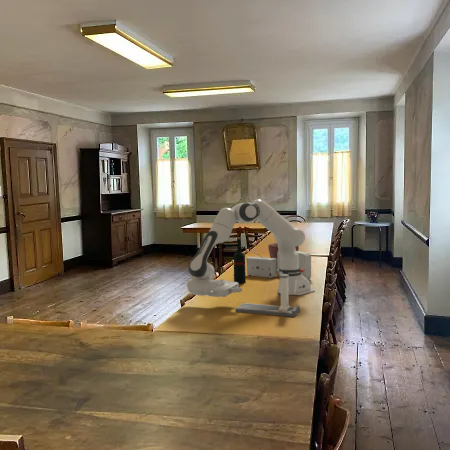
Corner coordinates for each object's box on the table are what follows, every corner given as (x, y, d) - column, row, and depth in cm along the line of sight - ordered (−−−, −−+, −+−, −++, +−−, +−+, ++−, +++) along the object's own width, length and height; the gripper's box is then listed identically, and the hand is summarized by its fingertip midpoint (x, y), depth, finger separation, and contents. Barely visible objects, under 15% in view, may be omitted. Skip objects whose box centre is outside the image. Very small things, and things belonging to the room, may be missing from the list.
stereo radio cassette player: (277, 276, 317) (276, 248, 315) (271, 278, 310) (271, 249, 308) (251, 274, 328) (250, 246, 326) (245, 276, 321) (244, 248, 319)
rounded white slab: (313, 279, 305) (313, 252, 303) (305, 281, 301) (305, 254, 299) (285, 273, 329) (285, 248, 327) (277, 274, 324) (277, 249, 323)
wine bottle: (248, 281, 303) (247, 236, 300) (243, 284, 293) (243, 238, 291) (237, 280, 305) (236, 236, 303) (232, 283, 296) (231, 238, 293)
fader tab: (278, 310, 223) (278, 275, 222) (282, 306, 230) (282, 273, 228) (286, 311, 222) (286, 276, 220) (290, 307, 228) (290, 273, 227)
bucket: (300, 271, 334) (300, 237, 332) (270, 272, 334) (269, 238, 332) (295, 265, 358) (295, 234, 356) (267, 266, 359) (267, 234, 357)
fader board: (235, 311, 229) (235, 306, 229) (243, 305, 240) (243, 300, 240) (294, 316, 218) (293, 311, 218) (299, 310, 229) (299, 305, 229)
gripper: (208, 286, 229) (233, 288, 223) (223, 278, 248) (247, 280, 242) (208, 298, 229) (233, 300, 224) (223, 290, 248) (247, 292, 243)
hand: (241, 290), depth 233 cm, fingers closed
